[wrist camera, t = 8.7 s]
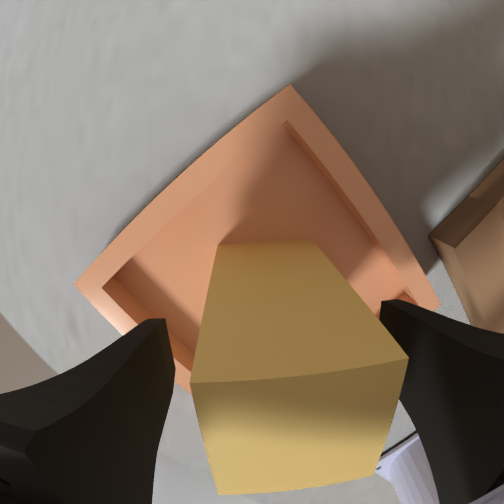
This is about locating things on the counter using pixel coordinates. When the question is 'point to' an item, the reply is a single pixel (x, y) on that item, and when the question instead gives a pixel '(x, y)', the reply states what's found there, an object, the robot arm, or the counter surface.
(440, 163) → the counter surface
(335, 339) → the peg
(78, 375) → the robot arm
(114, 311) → the tray
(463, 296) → the socket block
